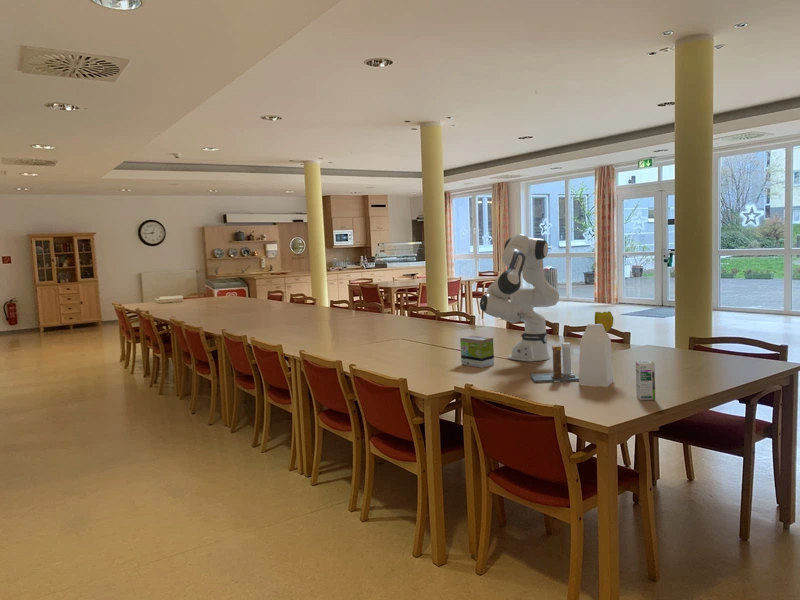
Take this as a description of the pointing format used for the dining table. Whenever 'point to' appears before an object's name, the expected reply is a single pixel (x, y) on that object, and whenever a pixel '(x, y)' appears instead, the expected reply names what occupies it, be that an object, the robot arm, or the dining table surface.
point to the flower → (604, 319)
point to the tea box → (477, 351)
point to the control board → (547, 378)
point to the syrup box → (645, 380)
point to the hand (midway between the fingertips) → (539, 322)
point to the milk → (595, 357)
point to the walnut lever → (557, 362)
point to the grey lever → (566, 359)
